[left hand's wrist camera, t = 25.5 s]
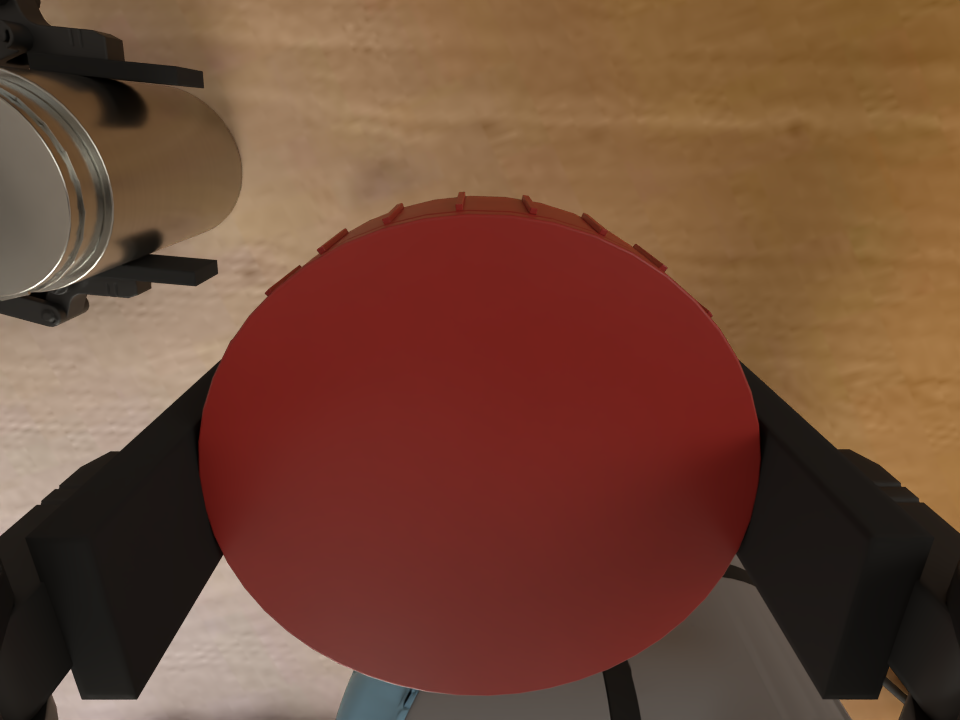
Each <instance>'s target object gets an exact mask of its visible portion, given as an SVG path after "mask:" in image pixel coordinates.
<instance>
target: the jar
mask: <svg viewBox="0 0 960 720" xmlns="http://www.w3.org/2000/svg"><path fill="white" fill-rule="evenodd" d="M241 183H242V166H241V160H240V155H239V152H238V148H237V146H236V143H235V141H234V138H233V137H232V135H231V133H230V131H229V129H228V128H227V126H226V125H225V123H224V122H223V121H222V119H221V118H220V117H219V116H218V115H217V114H216V113H215V111H213V110H212V109H211V108H210V107H209V106H208V105H207V104H205V103H204V102H203V101H201V100H200V99H198V98H197V97H195V96H193V95H191V94H190V93H188V92H185V91H183V90H180V89H177V88H173V87H170V86H163V85H155V84H146V83H138V82H130V81H122V80H113V79H105V78H97V77H89V76H80V75H72V74H64V73H56V72H47V71H39V70H31V69H23V68H14V67H6V66H0V300H1V301H3V300H8V299H12V298H17V297H21V296H26V295H30V294H31V292H45V291H52V290H56V289H60V288H63V287H66V286H69V285H71V284H74V283H76V282H79V281H82V280H84V279H87V278H89V277H92V276H94V275H97V274H99V273H102V272H104V271H107V270H110V269H112V268H115V267H117V266H120V265H122V264H125V263H127V262H130V261H132V260H135V259H138V258H140V257H143V256H145V255H148V254H150V253H153V252H155V251H158V250H160V249H163V248H166V247H168V246H171V245H173V244H176V243H178V242H181V241H183V240H186V239H188V238H191V237H194V236H196V235H199V234H201V233H204V232H206V231H208V230H210V229H212V228H214V227H216V226H217V225H219V224H220V223H221V222H222V221H223V220H224V219H226V217H227V216H228V215H229V214H230V212H231V211H232V209H233V208H234V206H235V204H236V202H237V199H238V197H239V194H240V189H241Z"/></svg>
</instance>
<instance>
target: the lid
mask: <svg viewBox="0 0 960 720" xmlns="http://www.w3.org/2000/svg"><path fill="white" fill-rule="evenodd" d="M317 251H318V252H319V254H318V255H316V256H315V257H314V258H313V259H311V260H310V261H309V262H308V263H306V264H305V265H304V266H303V267H301V266H300V265H299V266H298V267H296V268H295V269H294V270H292V271H291V272H290V273H289V274H287V275H286V276H285V277H283V278H282V279H281V280H280V281H278V282H277V283H276V284H274V285H273V286H272V287H271V288H269V289H268V290H267V291H266V292H265V294H266V295H267V296H268V297H267V298H266V299H265V300H264V301H263V302H262V303H261V304H260V305H259V306H258V307H257V308H256V309H255V310H254V311H253V312H252V313H251V314H250V315H249V317H248V318H247V320H246V321H245V323H244V324H243V325H242V327H241V328H240V330H239V331H238V332H237V334H236V335H235V337H234V338H233V339H232V340H231V341H230V343H229V345H228V347H227V349H226V351H225V353H224V355H223V357H222V359H221V362H220V364H219V366H218V368H217V370H216V372H215V374H214V376H213V378H212V382H211V385H210V388H209V391H208V395H207V398H206V401H205V404H204V408H203V413H202V420H201V427H200V434H199V441H198V451H199V477H200V482H201V487H202V492H203V497H204V502H205V507H206V511H207V515H208V519H209V522H210V525H211V528H212V531H213V534H214V536H215V538H216V540H217V542H218V544H219V546H220V548H221V550H222V552H223V555H224V557H225V559H226V561H227V563H228V564H229V566H230V567H231V569H232V570H233V571H234V573H235V574H236V576H237V577H238V579H239V580H240V582H241V583H242V585H243V586H244V588H245V589H246V590H247V591H248V592H249V594H250V595H251V596H252V597H253V598H254V599H255V600H256V602H257V603H258V604H259V605H260V606H261V607H262V608H263V610H264V611H265V612H267V613H268V614H269V615H270V616H271V617H272V618H273V619H274V620H275V621H277V622H278V623H279V624H280V625H281V626H282V627H283V628H284V629H285V630H287V631H288V632H289V633H291V634H292V635H293V636H295V637H296V638H298V639H299V640H300V641H302V642H303V643H305V644H306V645H307V646H309V647H310V648H312V649H313V650H315V651H317V652H319V653H321V654H322V655H324V656H326V657H328V658H329V659H331V660H333V661H335V662H337V663H338V664H341V665H343V666H345V667H348V668H350V669H352V670H355V671H357V672H359V673H361V674H364V675H366V676H369V677H372V678H375V679H378V680H382V681H385V682H388V683H391V684H394V685H398V686H403V687H407V688H412V689H417V690H421V691H426V692H434V693H443V694H451V695H474V696H492V695H506V694H519V693H525V692H531V691H537V690H543V689H549V688H552V687H556V686H560V685H564V684H567V683H571V682H575V681H578V680H581V679H584V678H586V677H589V676H592V675H594V674H597V673H600V672H602V671H605V670H608V669H610V668H612V667H614V666H616V665H618V664H620V663H622V662H624V661H626V660H628V659H630V658H632V657H634V656H636V655H637V654H639V653H640V652H642V651H643V650H645V649H646V648H648V647H650V646H651V645H653V644H654V643H656V642H657V641H659V640H661V639H662V638H663V637H664V636H666V635H667V634H668V633H669V632H670V631H672V630H673V629H674V628H675V627H677V626H678V625H679V624H680V623H682V622H683V621H684V620H685V619H686V618H687V617H688V616H689V615H690V614H691V613H692V612H693V611H694V610H695V609H696V608H697V607H698V606H699V605H700V604H701V603H702V602H703V601H704V600H705V599H706V597H707V596H708V595H709V593H710V592H711V591H712V590H713V588H714V587H715V586H716V584H717V583H718V582H719V580H720V579H721V578H722V576H723V575H724V574H725V572H726V570H727V568H728V567H729V565H730V563H731V561H732V560H733V558H734V556H735V555H736V553H737V551H738V549H739V547H740V545H741V543H742V540H743V538H744V535H745V533H746V530H747V528H748V525H749V523H750V520H751V516H752V512H753V507H754V502H755V498H756V493H757V488H758V483H759V475H760V464H761V449H760V434H759V423H758V418H757V414H756V410H755V405H754V401H753V396H752V392H751V389H750V387H749V385H748V382H747V380H746V377H745V375H744V372H743V370H742V367H741V365H740V362H739V360H738V358H737V356H736V355H735V353H734V351H733V350H732V348H731V346H730V345H729V343H728V341H727V340H726V338H725V336H724V335H723V333H722V331H721V330H720V328H719V327H718V326H717V325H716V324H715V322H714V321H713V320H712V319H711V317H712V316H713V315H712V314H711V313H710V311H708V310H707V309H706V308H705V307H704V306H702V305H701V304H700V303H699V302H697V301H696V300H695V299H694V298H693V297H692V296H691V295H690V294H688V293H687V292H686V291H685V290H684V289H683V288H682V287H681V286H679V285H678V284H677V283H676V282H675V281H674V280H673V279H672V278H670V277H669V276H668V275H667V274H666V273H665V271H666V269H667V267H666V266H665V265H663V264H662V263H661V262H659V261H658V260H657V259H656V258H654V257H653V256H652V255H650V254H649V253H648V252H646V251H645V250H644V249H642V248H641V247H640V246H638V245H637V244H635V245H634V246H633V247H632V246H631V245H629V244H628V243H626V242H625V241H623V240H621V239H620V238H618V237H617V236H615V235H614V234H612V233H611V232H609V231H608V230H606V229H605V228H604V227H602V226H601V225H600V224H599V223H598V222H596V221H595V220H594V219H593V218H591V217H590V216H589V215H588V214H585V213H583V214H582V217H580V216H578V215H576V214H573V213H571V212H567V211H564V210H561V209H558V208H555V207H551V206H548V205H545V204H542V203H537V202H532V200H531V199H530V197H529V196H526V195H523V197H522V200H520V199H514V198H508V197H486V196H465V192H459V194H458V197H456V198H446V199H436V200H432V201H428V202H423V203H419V204H415V205H411V206H407V207H404V206H403V204H402V203H400V204H397V205H396V206H395V207H394V208H393V209H392V210H391V211H390V212H389V213H387V214H385V215H382V216H380V217H377V218H375V219H372V220H369V221H368V222H366V223H364V224H362V225H361V226H359V227H357V228H355V229H354V230H352V231H350V232H348V231H347V229H346V228H345V229H343V230H342V231H340V232H339V233H338V234H337V235H335V236H334V237H333V238H331V239H330V240H329V241H327V242H326V243H325V244H324V245H322V246H321V247H320V248H318V249H317Z"/></svg>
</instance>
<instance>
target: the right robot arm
mask: <svg viewBox="0 0 960 720" xmlns="http://www.w3.org/2000/svg"><path fill="white" fill-rule="evenodd" d="M40 3H41V2H40V0H0V66H6V67H14V68H23V69H29V68H30V69H31V70H39V71H47V72H56V73H64V74H72V75H80V76H89V77H97V78H105V79H115V80H125V81H135V82H145V83H155V84H165V85H175V86H186V87H196V88H204V83H203V71H198V70H192V69H187V68H182V67H177V66H167V65H157V64H147V63H137V62H127V61H125V59H124V51H123V42H122V40H120V39H118V38H116V37H115V36H113V35H110V34H106V33H102V32H98V31H94V30H86V29H76V28H66V27H56V26H51V25H49V24H48V23H47V22H46V21H45V20H44V18H43V16H42V14H41V12H40V10H39V8H40ZM217 274H218V267H217V260H209V259H198V258H187V257H175V256H164V255H153V254H148V255H145V256H143V257H140V258H138V259H135V260H132V261H130V262H127V263H125V264H122V265H120V266H117V267H115V268H112V269H110V270H107V271H104V272H102V273H99V274H97V275H94V276H92V277H89V278H87V279H84V280H82V281H79V282H76V283H74V284H71V285H69V286H66V287H63V288H60V289H56V290H52V291H45V292H31V294H30V295H26V296H21V297H17V298H12V299H8V300H3V301H1V300H0V313H1V314H4V315H8V316H12V317H16V318H19V319H23V320H27V321H30V322H34V323H38V324H42V325H45V326H50V327H54V326H57V325H59V324H61V323H63V322H66V321H68V320H70V319H72V318H74V317H76V316H78V315H80V314H82V313H84V312H86V311H87V310H88V308H89V302H88V300H87V298H86V296H87V294H88V295H100V296H111V297H123V298H130V297H133V296H136V295H139V294H141V293H143V292H145V291H147V290H149V289H151V282H154V283H165V284H176V285H188V286H197V285H199V284H201V283H203V282H204V281H206V280H208V279H210V278H211V277H213V276H215V275H217Z"/></svg>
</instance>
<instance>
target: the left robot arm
mask: <svg viewBox="0 0 960 720" xmlns="http://www.w3.org/2000/svg"><path fill="white" fill-rule="evenodd" d="M220 362H221V360H220V361H219V362H218V363H217V364H216V365H215V366H213V367H212V368H211V369H210V370H209V371H208V372H207V373H206V374H205V375H204V376H202V377H201V378H200V379H199V380H198V381H197V382H196V383H195V384H194V385H193V386H191V387H190V388H189V389H188V390H187V391H186V392H185V393H184V394H183V395H182V396H180V397H179V398H178V399H177V400H176V401H175V402H174V403H173V404H172V405H171V406H169V407H168V408H167V409H166V410H165V411H164V412H163V413H162V414H161V415H160V416H158V417H157V418H156V419H155V420H154V421H153V422H152V423H151V424H150V425H149V426H147V427H146V428H145V429H144V430H143V431H142V432H141V433H140V434H139V435H138V436H136V437H135V438H134V439H133V440H132V441H131V442H130V443H129V444H128V445H127V446H125V447H124V448H123V449H122V450H121V451H110V452H109V453H107V454H105V455H103V456H101V457H99V458H97V459H95V460H93V461H91V462H90V463H88V464H86V465H84V466H82V467H80V468H79V469H78V470H77V471H76V472H74V473H73V474H72V475H71V476H70V477H69V478H67V479H66V480H65V481H64V482H63V483H62V484H60V485H59V489H55V490H53V491H52V492H51V493H50V494H49V495H48V496H46V497H45V498H44V499H43V500H42V501H41V505H36V506H35V507H34V508H33V509H31V510H30V511H29V512H28V513H27V514H26V515H24V516H23V517H22V518H21V519H20V520H19V521H17V522H16V523H15V524H14V525H13V526H12V527H10V528H9V529H8V530H7V531H6V532H5V533H3V534H2V535H1V536H0V720H58V714H57V708H56V704H55V702H54V699H53V696H52V693H53V692H54V690H55V689H56V688H57V686H58V685H59V684H60V682H61V681H62V680H63V678H64V677H65V676H66V674H67V673H68V672H69V670H70V669H71V670H72V673H73V676H74V679H75V681H76V684H77V687H78V690H79V693H80V696H81V698H82V700H119V699H138V697H139V695H140V694H141V692H142V690H143V689H144V687H145V685H146V683H147V682H148V680H149V678H150V677H151V675H152V673H153V672H154V670H155V668H156V667H157V665H158V663H159V662H160V660H161V658H162V657H163V655H164V653H165V652H166V650H167V648H168V647H169V645H170V643H171V642H172V640H173V638H174V636H175V635H176V633H177V631H178V630H179V628H180V626H181V625H182V623H183V621H184V620H185V618H186V616H187V615H188V613H189V611H190V610H191V608H192V606H193V605H194V603H195V601H196V600H197V598H198V596H199V595H200V593H201V591H202V590H203V588H204V586H205V584H206V583H207V581H208V579H209V578H210V576H211V574H212V573H213V571H214V569H215V568H216V566H217V564H218V563H219V561H220V559H221V558H222V556H223V552H222V550H221V548H220V546H219V544H218V542H217V540H216V538H215V536H214V534H213V531H212V528H211V525H210V522H209V519H208V515H207V511H206V507H205V502H204V497H203V492H202V487H201V482H200V477H199V451H198V441H199V434H200V427H201V420H202V413H203V408H204V404H205V401H206V398H207V395H208V391H209V388H210V385H211V382H212V378H213V376H214V374H215V372H216V370H217V368H218V366H219V364H220ZM739 362H740V365H741V367H742V370H743V372H744V375H745V377H746V380H747V382H748V385H749V387H750V389H751V392H752V396H753V401H754V405H755V410H756V414H757V418H758V423H759V434H760V449H761V464H760V475H759V483H758V488H757V493H756V498H755V502H754V507H753V512H752V516H751V520H750V523H749V525H748V528H747V530H746V533H745V535H744V538H743V540H742V543H741V545H740V547H739V549H738V551H737V553H736V555H735V556H734V558H733V560H732V561H731V563H730V565H729V567H728V568H727V570H726V572H725V574H724V575H723V576H722V578H721V579H720V580H719V582H718V583H717V584H716V586H715V587H714V588H713V590H712V591H711V592H710V593H709V595H708V596H707V597H706V599H705V600H704V601H703V602H702V603H701V604H700V605H699V606H698V607H697V608H696V609H695V610H694V611H693V612H692V613H691V614H690V615H689V616H688V617H687V618H686V619H685V620H684V621H683V622H682V623H680V624H679V625H678V626H677V627H675V628H674V629H673V630H672V631H670V632H669V633H668V634H667V635H666V636H664V637H663V638H662V639H661V640H659V641H657V642H656V643H654V644H653V645H651V646H650V647H648V648H646V649H645V650H643V651H642V652H640V653H639V654H637V655H636V656H634V657H632V658H630V659H628V660H626V661H624V662H622V663H620V664H618V665H616V666H614V667H612V668H610V669H608V670H605V671H602V672H600V673H597V674H594V675H592V676H589V677H586V678H584V679H581V680H578V681H575V682H571V683H567V684H564V685H560V686H556V687H552V688H549V689H543V690H537V691H531V692H525V693H519V694H506V695H492V696H474V695H451V694H443V693H434V692H426V691H421V690H417V689H412V688H407V687H403V686H398V685H394V684H391V683H388V682H385V681H382V680H378V679H375V678H372V677H369V676H366V675H364V674H361V673H359V672H357V671H355V670H354V671H353V673H352V676H351V678H350V680H349V683H348V685H347V688H346V690H345V693H344V696H343V698H342V701H341V704H340V707H339V710H338V713H337V717H336V720H852V719H851V718H850V716H849V714H848V713H847V711H846V710H845V708H844V707H843V705H842V703H841V702H840V700H839V699H878V697H879V694H880V691H881V689H882V686H884V687H885V688H886V689H888V690H889V691H890V692H891V693H892V694H893V695H894V696H895V697H897V698H898V699H899V700H900V701H901V702H902V703H904V707H903V709H902V712H901V715H900V717H899V720H960V533H959V532H957V531H956V530H955V529H954V528H953V527H952V526H950V525H949V524H948V523H947V522H946V521H945V520H943V519H942V518H941V517H940V516H939V515H938V514H936V513H935V512H934V511H933V510H932V509H930V508H929V507H928V506H927V505H926V504H925V503H920V502H919V498H918V497H916V496H915V495H914V494H913V493H912V492H911V491H909V490H908V489H907V488H906V487H901V483H900V482H899V481H898V480H896V479H895V478H894V477H893V476H892V475H891V474H889V473H888V472H887V471H886V470H885V469H884V468H882V467H881V466H880V465H878V464H877V463H875V462H873V461H871V460H869V459H867V458H865V457H863V456H861V455H859V454H857V453H855V452H854V451H852V450H850V449H836V448H835V447H834V446H833V445H832V444H831V443H830V442H829V441H828V440H826V439H825V438H824V437H823V436H822V435H821V434H820V433H819V432H818V431H817V430H815V429H814V428H813V427H812V426H811V425H810V424H809V423H808V422H807V421H806V420H804V419H803V418H802V417H801V416H800V415H799V414H798V413H797V412H796V411H795V410H793V409H792V408H791V407H790V406H789V405H788V404H787V403H786V402H785V401H784V400H782V399H781V398H780V397H779V396H778V395H777V394H776V393H775V392H774V391H773V390H771V389H770V388H769V387H768V386H767V385H766V384H765V383H764V382H763V381H762V380H760V379H759V378H758V377H757V376H756V375H755V374H754V373H753V372H752V371H751V370H749V369H748V368H747V367H746V366H745V365H744V364H743V363H742V362H741V361H740V360H739ZM889 666H890V668H891V669H892V670H893V672H894V673H895V674H896V676H897V677H898V678H899V680H900V681H901V682H902V684H903V685H904V686H905V687H906V689H907V690H908V691H909V694H908V696H907V695H906V694H904V693H903V692H902V691H901V690H900V689H899V688H898V687H897V686H896V685H894V684H893V683H892V682H891V681H890V680H889V679H888V678H886V674H887V671H888V669H889Z"/></svg>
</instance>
